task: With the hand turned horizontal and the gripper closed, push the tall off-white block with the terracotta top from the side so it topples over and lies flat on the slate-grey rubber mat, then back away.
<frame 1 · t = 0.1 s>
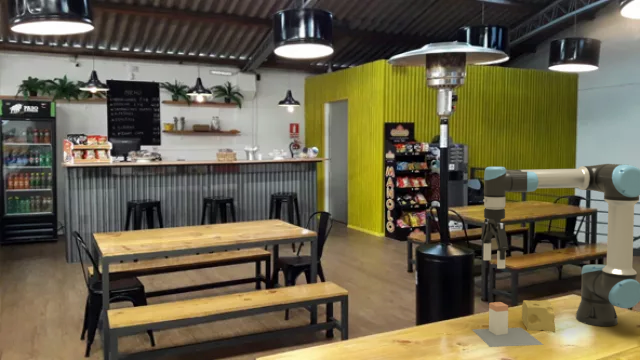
hand: (493, 264, 201), 28 cm above the table, tool pointing down, fingers open, 13 cm apart
slate mat: (506, 338, 200), on the table
cheese: (537, 328, 211), on the table
tall block: (498, 332, 205), point 1 cm above the table, touching slate mat
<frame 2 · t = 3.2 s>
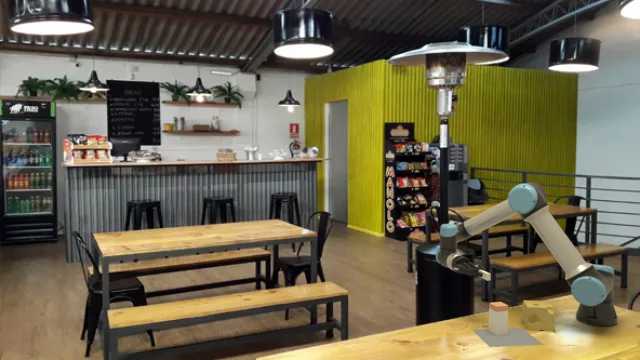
hand: (488, 277, 211), 20 cm above the table, tool horizontal, fingers closed
nothing on the table moved.
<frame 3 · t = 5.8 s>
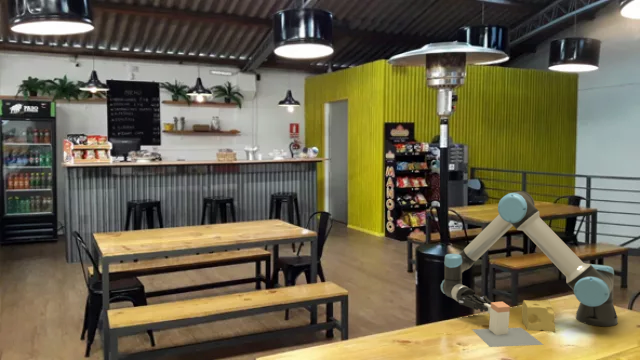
hand: (494, 311, 207), 8 cm above the table, tool horizontal, fingers closed
tall block: (498, 331, 205), point 1 cm above the table, tilted 6°, touching gripper, slate mat
everything else where it was.
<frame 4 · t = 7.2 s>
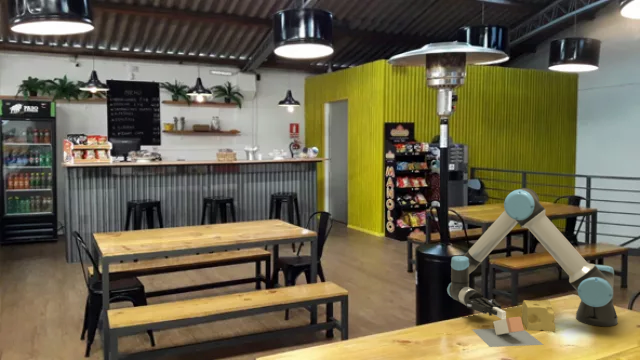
hand: (503, 315, 201), 8 cm above the table, tool horizontal, fingers closed
tall block: (500, 327, 204), point 3 cm above the table, tilted 65°, touching gripper, slate mat
everything else where it was.
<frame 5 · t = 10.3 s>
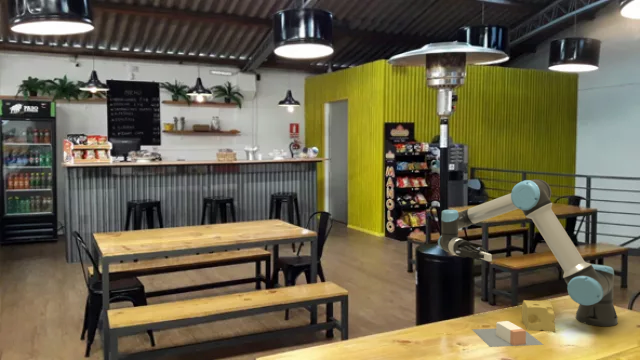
hand: (490, 257, 214), 27 cm above the table, tool horizontal, fingers closed
tall block: (502, 327, 203), point 3 cm above the table, tilted 90°, touching slate mat
everything else where it was.
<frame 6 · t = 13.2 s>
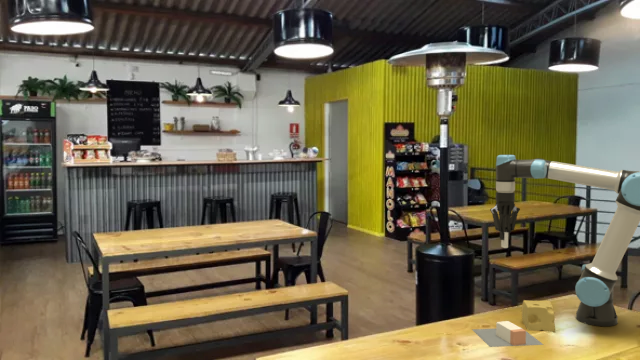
hand: (504, 247, 225), 29 cm above the table, tool pointing down, fingers closed
nothing on the table moved.
at the end: tall block tilted 90°; tall block inside the target area (2.5 cm from its centre), point 3.1 cm above the table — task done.
